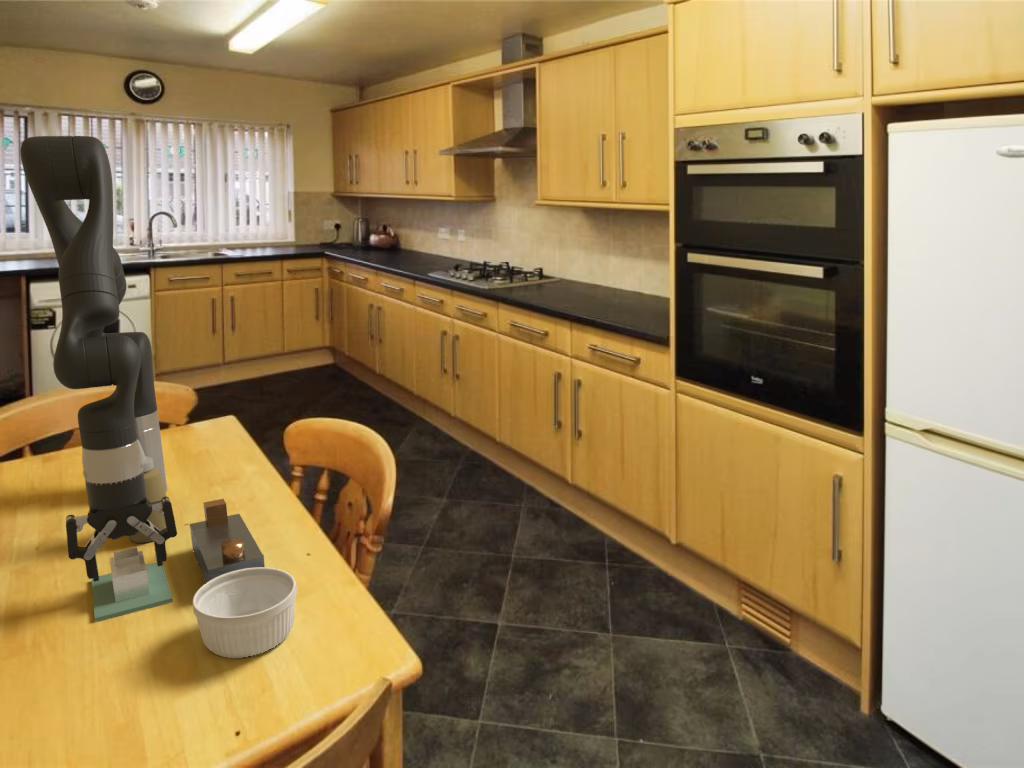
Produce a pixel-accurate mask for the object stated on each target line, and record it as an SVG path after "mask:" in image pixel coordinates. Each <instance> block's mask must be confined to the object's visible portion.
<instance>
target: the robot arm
mask: <svg viewBox="0 0 1024 768" xmlns="http://www.w3.org/2000/svg"><path fill="white" fill-rule="evenodd" d="M19 151H20V152H19V153H20V161H21V165H22V169H23V173H24V176H25V178H26V181H27V183H28V186H29V188H30V191H31V194H32V196H33V199H34V200H35V202H36V205H37V208H38V210H39V212H40V214H41V217H42V219H43V222H44V223H45V227H46V228H47V231H48V233H49V236H50V239H51V243H52V247H53V249H54V254H55V257H56V261H57V264H58V284H59V285H58V286H59V291H60V299H61V311H62V313H61V314H62V316H61V326H60V332H59V337H58V339H57V344H56V348H55V352H54V356H53V365H52V366H53V373H54V375H55V378H56V379H57V380H58V382H59V383H60V384H61V385H62V386H64V387H65V388H67V389H69V390H84V389H90V388H91V389H92V388H100V387H101V388H102V387H111V386H115V389H114V390H113V392H112V393H111V394H110V395H109V396H107V397H105V398H102V399H101V398H100V399H98V400H96V401H93V402H89V403H87V404H85V405H82V406H81V407H80V408H79V409H78V411H77V423H78V429H79V437H80V443H81V453H82V454H81V456H82V457H81V461H82V462H81V463H82V469H83V471H82V475H83V478H84V481H85V489H86V495H87V503H88V508H89V510H88V512H87V514H86V515H85V514H83V515H80V516H79V515H78V516H75V515H74V514H68V515H66V518H65V528H66V529H65V530H66V542H67V553H68V556H67V557H68V559H70V560H76V559H82V560H83V561H84V564H85V565H84V566H85V570H86V577H87V578H88V579H89V580H92V578H93V580H94V582H95V581H99V576H100V575H99V568H98V563H97V556H96V554H97V552H98V550H99V549H100V548H101V547H102V546H103V544H104V543H105V542H106V540H107V539H111V540H112V541H114V540H117V539H121V538H123V537H128V536H132V535H135V533H137V532H139V531H140V532H141V533H143V534H144V535H145V536H147V537H149V538H151V539H152V540H153V541H152V542H153V544H154V552H155V553H154V555H155V560H156V563H157V565H158V566H162V565H163V566H164V563H163V562H167V558H168V556H167V548H166V542H167V541H168V540H169V539H171V538H176V537H177V535H178V531H177V526H176V525H177V524H176V520H175V515H174V511H173V505H172V502H171V500H170V497H169V496H166V497H163V498H162V499H161V500H160V501H156V502H152V503H150V502H149V501H148V499H147V493H146V486H145V478H144V471H143V461H142V455H141V451H140V447H139V444H138V440H139V442H140V444H141V447H142V449H143V452H144V454H145V456H148V457H151V458H152V459H153V464H154V467H153V468H156V469H158V470H159V471H160V472H161V476H162V481H163V485H164V489H165V492H166V491H167V490H168V487H167V486H168V484H167V477H166V469H165V461H164V453H163V452H164V451H163V445H162V437H161V436H162V435H161V429H160V421H159V414H158V413H159V412H158V404H157V397H156V391H155V390H156V389H155V379H154V367H153V366H154V365H153V364H154V362H153V361H154V360H153V351H152V345H151V341H150V338H149V336H148V335H147V333H145V332H144V331H143V332H142V331H130V332H129V331H128V332H124V331H123V332H111V333H109V332H108V333H106V332H104V330H105V327H106V326H111V325H112V324H114V323H116V322H117V320H118V319H119V318H120V304H121V303H122V302H123V300H124V298H125V295H126V292H127V289H128V288H127V280H126V277H125V271H124V268H123V263H122V261H121V257H120V255H119V253H118V251H117V250H116V248H114V195H113V194H114V187H113V176H112V167H111V163H110V159H109V156H108V153H107V151H106V147H105V145H104V144H103V143H102V141H101V140H100V139H98V138H97V137H95V136H88V135H40V136H37V135H35V136H30V137H26V138H25V139H23V141H22V142H21V144H20V150H19ZM79 200H88V208H87V213H86V215H85V217H84V219H83V221H82V220H81V219H80V218H78V216H76V214H75V213H74V211H72V210H71V209H70V207H69V206H68V204H67V202H66V201H79ZM152 510H156V511H157V512H158V514H159V515H164V518H165V523H166V528H165V529H163V530H161V531H160V530H159V529H158V528H157V527H155V526H154V525H153V524H152V523H151V522H150V521H149V520H147V519H148V517H149V516H150V514H151V513H152ZM86 524H88V526H90V527H92V528H93V529H94V530H93V532H92V534H91V536H90V538H89V540H88V541H87V542H86V544H85V545H84V546H79V543H78V533H81V532H82V530H83V528H84V526H85V525H86Z"/></svg>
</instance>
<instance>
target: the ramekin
mask: <svg viewBox="0 0 1024 768" xmlns="http://www.w3.org/2000/svg"><path fill="white" fill-rule="evenodd" d="M297 594H298V588H297V582H296V579H295V578H294V576H293V575H292V574H291V573H289V572H287V571H285V570H283V569H278V568H274V567H266V566H265V567H256V568H246V569H241V570H236V571H232V572H229V573H226V574H223V575H221V576H218V577H216V578H214V579H212V580H210V581H209V582H207V583H206V584H205V583H204V584H203V585H202V586H201V587H200V588H199V589H198V590H197V591H196V592H195V593H194V596H193V597H192V612H193V614H194V616H195V617H196V619H197V624H198V628H199V632H200V635H201V639H202V641H203V644H204V646H206V648H207V649H208V650H210V651H211V652H212V653H214V654H215V655H217V656H219V657H223V658H226V657H227V658H228V659H244V658H243V657H246V658H249V657H248V656H251V657H254V656H253V655H255V656H257V655H256V654H259V655H261V654H260V653H262V652H265V651H267V650H269V649H271V648H273V647H274V648H276V647H277V646H279V645H280V644H281V643H282V642H284V640H285V639H286V638H287V637H288V636H289V634H290V633H291V631H292V629H293V626H294V622H295V607H296V606H295V604H296V597H297ZM279 643H280V644H279ZM278 644H279V645H278ZM276 645H277V646H276ZM275 646H276V647H275ZM274 648H273V649H274ZM271 650H272V649H271ZM269 651H270V650H269ZM267 652H268V651H267ZM265 653H266V652H265ZM262 654H263V653H262Z"/></svg>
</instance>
